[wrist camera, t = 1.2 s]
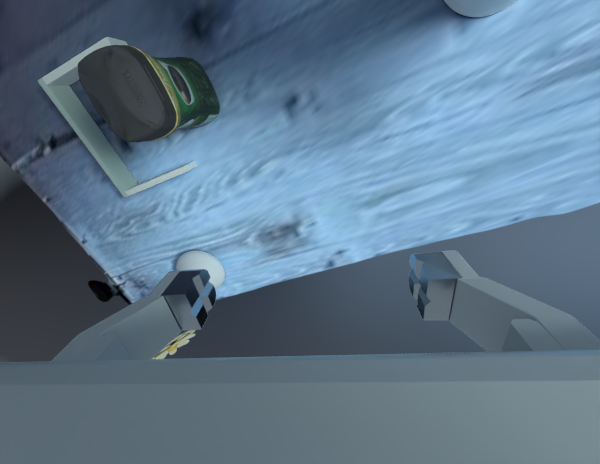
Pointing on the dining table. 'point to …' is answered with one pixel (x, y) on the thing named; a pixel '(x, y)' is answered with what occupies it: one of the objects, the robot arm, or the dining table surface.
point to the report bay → (87, 128)
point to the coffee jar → (147, 92)
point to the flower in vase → (217, 278)
